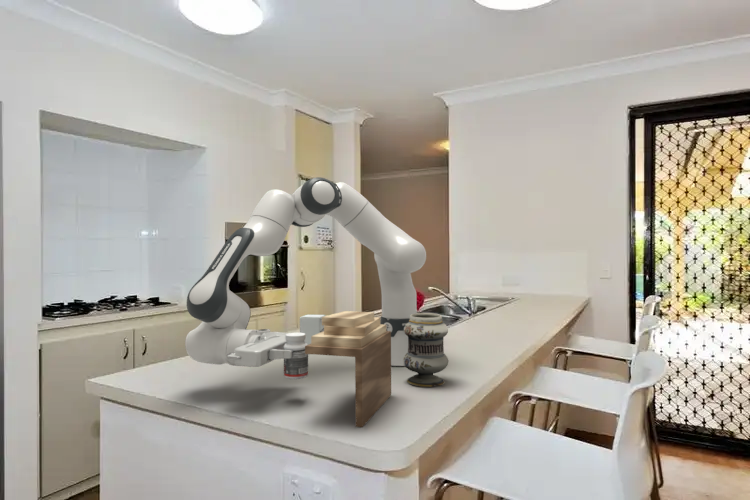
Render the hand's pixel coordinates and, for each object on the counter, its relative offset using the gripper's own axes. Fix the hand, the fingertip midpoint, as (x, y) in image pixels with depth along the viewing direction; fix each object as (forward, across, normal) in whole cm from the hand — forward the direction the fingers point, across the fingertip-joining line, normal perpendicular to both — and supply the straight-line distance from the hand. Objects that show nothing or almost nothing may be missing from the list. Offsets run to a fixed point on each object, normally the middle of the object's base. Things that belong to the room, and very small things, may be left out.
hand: (299, 350), depth 112 cm
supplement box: (-20, +51, +13) cm, 56 cm away
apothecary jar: (+25, +24, +13) cm, 37 cm away
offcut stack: (+13, 0, -4) cm, 14 cm away
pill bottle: (-1, 0, +6) cm, 6 cm away
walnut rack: (+13, 0, +12) cm, 18 cm away
